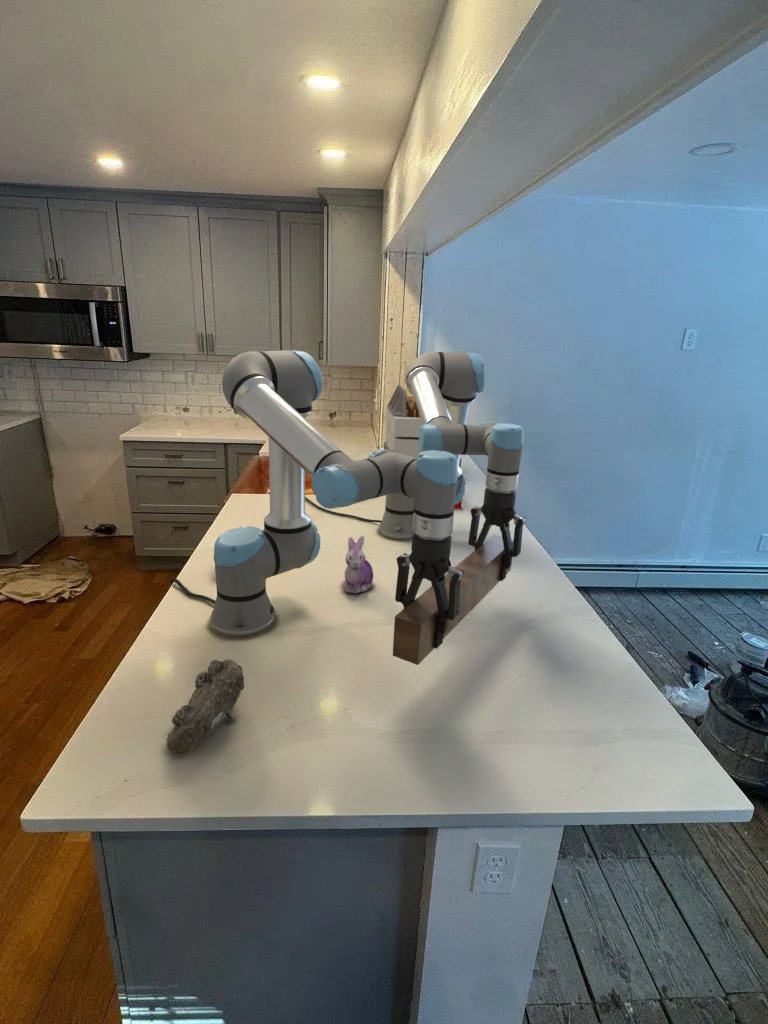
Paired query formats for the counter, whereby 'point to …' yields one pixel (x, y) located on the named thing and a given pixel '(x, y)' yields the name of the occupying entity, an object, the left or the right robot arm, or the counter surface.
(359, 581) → the figurine
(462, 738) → the counter surface
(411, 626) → the beam
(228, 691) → the fossil
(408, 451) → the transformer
